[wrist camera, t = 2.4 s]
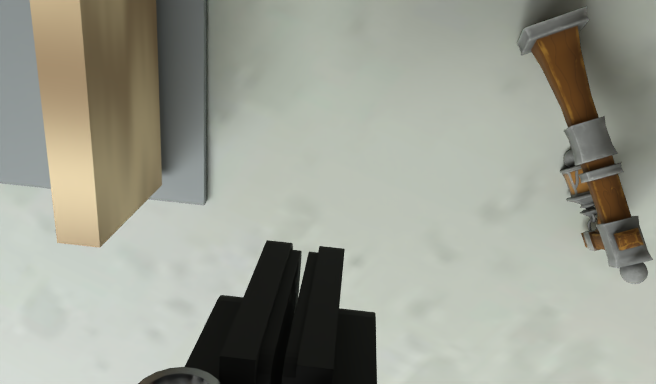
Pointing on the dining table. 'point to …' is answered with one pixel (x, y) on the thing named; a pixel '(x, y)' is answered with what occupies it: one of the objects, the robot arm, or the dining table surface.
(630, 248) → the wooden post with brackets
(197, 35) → the card
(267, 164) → the dining table surface
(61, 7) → the tan wooden board
